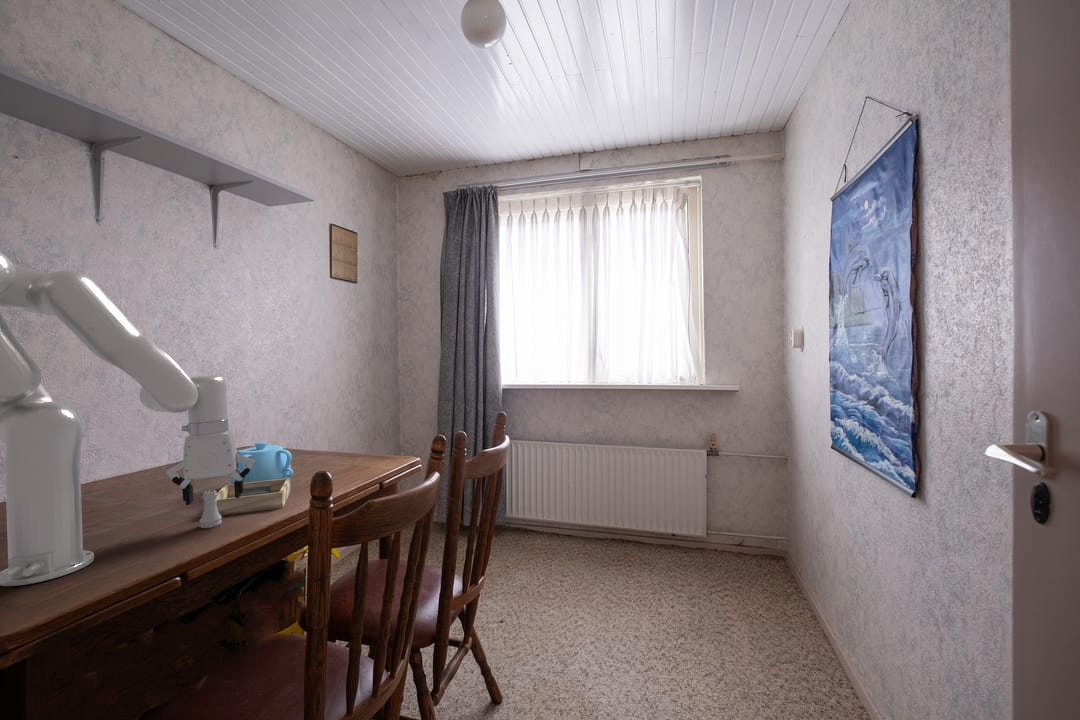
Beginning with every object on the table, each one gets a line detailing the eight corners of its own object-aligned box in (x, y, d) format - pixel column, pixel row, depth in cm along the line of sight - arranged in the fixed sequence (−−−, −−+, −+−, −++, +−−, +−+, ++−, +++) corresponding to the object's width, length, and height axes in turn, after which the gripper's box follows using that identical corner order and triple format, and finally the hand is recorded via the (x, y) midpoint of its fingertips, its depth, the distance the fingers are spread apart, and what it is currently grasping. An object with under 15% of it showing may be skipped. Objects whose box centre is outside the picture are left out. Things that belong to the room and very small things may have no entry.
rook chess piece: (227, 522, 110) (226, 489, 110) (209, 529, 106) (208, 495, 106) (212, 521, 111) (211, 488, 111) (194, 528, 107) (193, 493, 107)
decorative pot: (229, 485, 144) (227, 442, 144) (287, 476, 153) (286, 435, 153) (231, 497, 131) (229, 450, 130) (295, 487, 140) (293, 442, 140)
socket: (266, 503, 122) (266, 491, 122) (233, 507, 120) (232, 495, 120) (271, 495, 130) (271, 484, 129) (240, 499, 127) (239, 488, 127)
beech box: (282, 507, 120) (282, 492, 120) (209, 517, 114) (208, 501, 114) (290, 491, 135) (290, 478, 135) (226, 499, 129) (225, 484, 129)
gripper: (157, 435, 102) (163, 511, 102) (248, 426, 108) (253, 498, 109) (170, 429, 109) (175, 501, 109) (254, 422, 115) (259, 489, 116)
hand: (214, 499), depth 109 cm, fingers open, 9 cm apart
